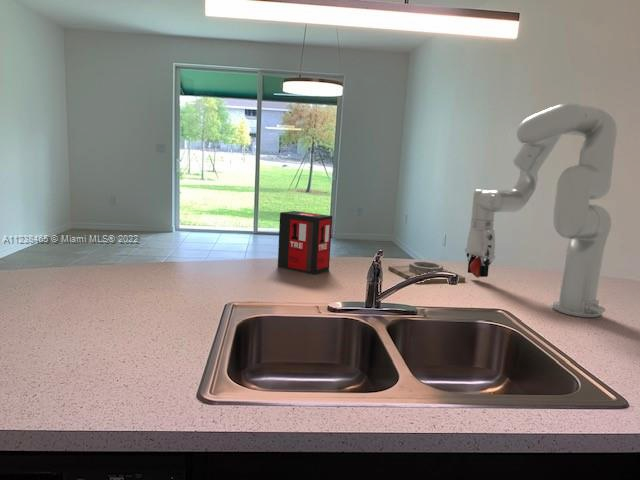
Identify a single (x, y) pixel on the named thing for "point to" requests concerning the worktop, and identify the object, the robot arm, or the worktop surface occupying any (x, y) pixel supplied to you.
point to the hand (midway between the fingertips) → (477, 274)
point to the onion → (475, 266)
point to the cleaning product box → (304, 242)
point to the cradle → (420, 271)
